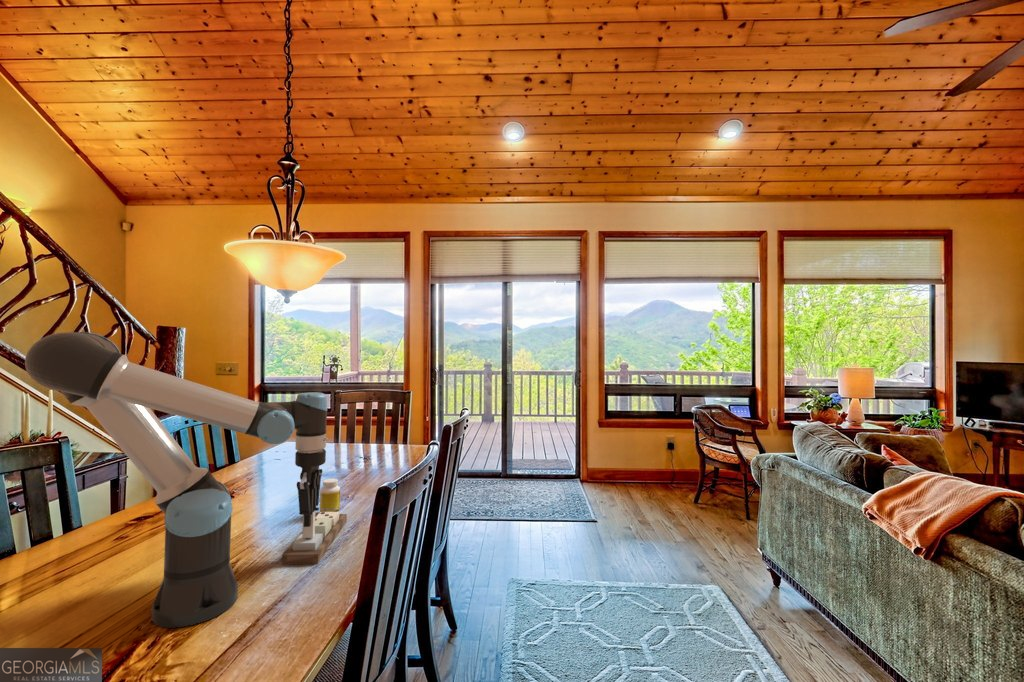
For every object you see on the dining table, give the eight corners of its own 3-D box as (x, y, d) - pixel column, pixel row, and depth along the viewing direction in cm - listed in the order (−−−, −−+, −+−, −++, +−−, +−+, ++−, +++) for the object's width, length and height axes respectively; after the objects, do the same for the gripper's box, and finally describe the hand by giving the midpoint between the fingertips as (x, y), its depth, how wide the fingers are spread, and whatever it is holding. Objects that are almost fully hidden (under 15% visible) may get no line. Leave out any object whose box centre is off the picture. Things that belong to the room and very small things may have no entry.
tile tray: (317, 563, 114) (318, 554, 114) (281, 564, 113) (282, 554, 113) (346, 521, 141) (346, 514, 141) (317, 522, 140) (317, 514, 140)
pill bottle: (342, 513, 148) (343, 480, 148) (324, 518, 143) (325, 484, 143) (334, 508, 152) (335, 476, 152) (316, 513, 148) (317, 480, 148)
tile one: (315, 554, 117) (315, 542, 117) (292, 555, 116) (292, 542, 116) (322, 545, 122) (322, 532, 122) (300, 545, 122) (301, 533, 122)
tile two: (325, 537, 125) (325, 525, 125) (303, 537, 124) (304, 525, 124) (331, 528, 130) (331, 517, 130) (311, 528, 130) (311, 517, 130)
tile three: (333, 529, 133) (333, 518, 133) (313, 529, 132) (313, 518, 132) (339, 521, 138) (339, 511, 138) (320, 522, 138) (320, 511, 138)
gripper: (317, 455, 113) (314, 547, 113) (332, 444, 126) (330, 526, 126) (286, 455, 113) (284, 548, 112) (305, 444, 126) (303, 527, 125)
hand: (308, 536), depth 119 cm, fingers closed
